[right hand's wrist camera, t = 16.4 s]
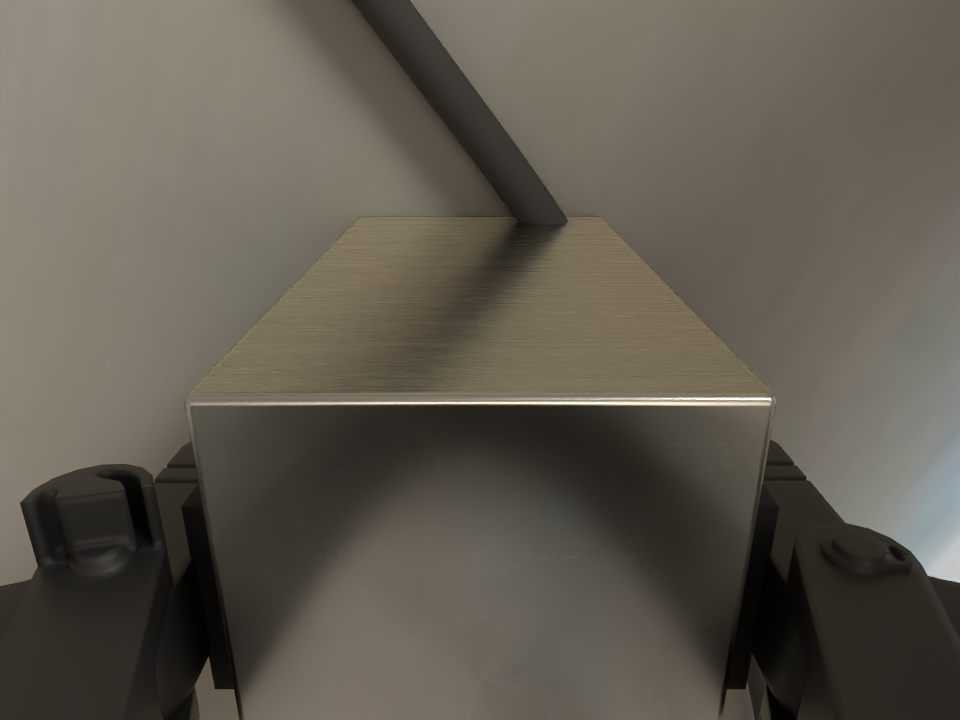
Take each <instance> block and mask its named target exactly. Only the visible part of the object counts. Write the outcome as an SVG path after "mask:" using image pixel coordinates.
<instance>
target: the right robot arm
mask: <svg viewBox="0 0 960 720" xmlns="http://www.w3.org/2000/svg"><path fill="white" fill-rule="evenodd" d="M352 1H353V3H354V4H355V5H356V7H357V8H358V9H359V11H360V12H361V13H362V15H363V16H364V17H365V19H366V20H367V21H368V23H369V24H370V25H371V27H372V28H373V29H374V30H375V32H376V33H377V34H378V36H379V37H380V38H381V40H382V41H383V42H384V44H385V45H386V46H387V48H388V49H389V50H390V52H391V53H392V54H393V56H394V57H395V58H396V59H397V61H398V62H399V63H400V65H401V66H402V67H403V69H404V70H405V71H406V73H407V74H408V75H409V77H410V78H411V79H412V80H413V82H414V83H415V84H416V86H417V87H418V88H419V90H420V91H421V92H422V94H423V95H424V96H425V97H426V99H427V100H428V101H429V103H430V104H431V105H432V107H433V108H434V109H435V111H436V112H437V113H438V114H439V116H440V117H441V118H442V120H443V121H444V122H445V124H446V125H447V126H448V128H449V129H450V130H451V131H452V133H453V134H454V135H455V137H456V138H457V139H458V141H459V142H460V143H461V145H462V146H463V147H464V149H465V150H466V151H467V153H468V154H469V155H470V157H471V158H472V159H473V160H474V162H475V163H476V164H477V166H478V167H479V168H480V170H481V171H482V172H483V174H484V175H485V176H486V178H487V179H488V181H489V182H490V183H491V185H492V186H493V187H494V189H495V190H496V191H497V193H498V194H499V195H500V197H501V198H502V200H503V201H504V202H505V204H506V205H507V206H508V208H509V209H510V211H511V212H512V213H513V215H514V216H515V218H516V219H517V220H518V221H519V222H522V223H526V224H536V225H554V224H563V223H566V222H568V220H567V218H566V217H565V215H564V214H563V212H562V211H561V209H560V208H559V206H558V205H557V203H556V202H555V200H554V199H553V197H552V196H551V194H550V193H549V192H548V190H547V189H546V187H545V186H544V184H543V183H542V181H541V180H540V179H539V177H538V176H537V174H536V173H535V171H534V170H533V169H532V167H531V166H530V164H529V163H528V161H527V160H526V159H525V157H524V156H523V154H522V153H521V152H520V150H519V149H518V148H517V146H516V145H515V143H514V142H513V141H512V139H511V138H510V136H509V135H508V134H507V132H506V131H505V130H504V128H503V127H502V125H501V124H500V123H499V121H498V120H497V119H496V117H495V116H494V115H493V113H492V112H491V110H490V109H489V108H488V106H487V105H486V104H485V102H484V101H483V100H482V98H481V97H480V95H479V94H478V93H477V91H476V90H475V89H474V87H473V86H472V85H471V83H470V82H469V81H468V79H467V78H466V76H465V75H464V74H463V72H462V71H461V70H460V68H459V67H458V66H457V64H456V63H455V62H454V60H453V59H452V57H451V56H450V55H449V53H448V52H447V51H446V49H445V48H444V47H443V45H442V44H441V43H440V41H439V40H438V38H437V37H436V36H435V34H434V33H433V32H432V30H431V29H430V28H429V26H428V25H427V23H426V22H425V21H424V19H423V18H422V17H421V15H420V14H419V12H418V11H417V10H416V8H415V7H414V6H413V4H412V3H411V2H410V0H352ZM20 505H21V508H22V512H23V515H24V519H25V522H26V526H27V529H28V533H29V536H30V540H31V543H32V547H33V550H34V554H35V557H36V561H37V564H38V568H37V570H36V571H35V573H34V575H33V577H32V579H31V580H27V581H23V582H19V583H14V584H9V585H4V586H0V720H199V708H198V701H197V696H196V691H195V683H196V681H197V679H198V677H199V675H200V673H201V671H202V669H203V667H204V665H205V663H206V661H207V659H208V656H209V659H210V664H211V670H212V675H213V681H214V686H215V689H234V685H233V679H232V673H231V668H230V662H229V656H228V650H227V645H226V639H225V633H224V627H223V622H222V616H221V610H220V604H219V599H218V593H217V587H216V581H215V576H214V570H213V564H212V558H211V553H210V547H209V541H208V535H207V530H206V524H205V518H204V512H203V507H202V501H201V495H200V489H199V484H198V478H197V472H196V466H195V460H194V455H193V449H192V443H191V442H189V443H188V444H186V445H184V446H183V447H182V448H181V449H180V450H179V451H178V453H177V454H176V455H175V456H174V457H173V458H172V460H171V461H170V462H169V463H168V464H167V468H164V469H163V470H162V472H161V473H160V474H159V475H158V476H157V478H156V479H155V483H154V482H153V477H152V475H151V474H150V473H149V472H147V471H146V470H145V469H143V468H142V467H137V466H132V465H127V464H111V465H99V466H94V467H89V468H84V469H79V470H75V471H73V472H70V473H67V474H64V475H62V476H59V477H56V478H53V479H51V480H50V481H48V482H46V483H45V484H43V485H41V486H39V487H38V488H36V489H34V490H33V491H32V492H31V493H30V494H29V495H28V496H27V497H26V498H25V499H24V500H23V501H22V502H21V503H20ZM747 682H748V687H749V691H750V696H751V701H752V706H753V712H754V717H755V720H960V583H958V582H953V581H947V580H942V579H938V578H934V577H930V576H927V574H926V572H925V570H924V568H923V566H922V565H921V564H920V562H919V561H918V560H917V559H916V558H915V556H914V555H913V554H912V553H911V551H909V550H908V549H906V548H905V547H903V546H902V545H900V544H899V543H897V542H896V541H895V540H893V539H892V538H889V537H887V536H885V535H882V534H880V533H878V532H875V531H873V530H871V529H868V528H864V527H860V526H856V525H851V524H847V523H845V522H844V521H843V520H842V519H841V517H840V516H839V515H838V514H837V513H836V512H835V510H834V509H833V508H832V507H831V506H830V504H829V503H828V502H827V501H826V500H825V499H824V497H823V496H822V495H821V494H820V493H819V491H818V490H817V489H816V488H815V487H814V486H813V484H812V483H811V482H810V481H806V476H805V475H804V474H803V473H802V471H801V470H800V469H799V468H798V467H797V466H794V462H793V461H792V460H791V458H790V457H789V456H788V455H787V454H786V453H785V451H784V450H783V449H782V448H781V447H780V445H779V444H777V443H775V442H774V441H772V440H770V442H769V448H768V453H767V459H766V465H765V471H764V476H763V482H762V488H761V494H760V500H759V505H758V511H757V517H756V523H755V528H754V534H753V540H752V546H751V552H750V557H749V563H748V569H747V575H746V580H745V586H744V592H743V598H742V604H741V609H740V615H739V621H738V627H737V632H736V638H735V644H734V650H733V656H732V661H731V667H730V673H729V679H728V684H727V689H746V683H747Z"/></svg>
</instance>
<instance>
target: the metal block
mask: <svg viewBox="0 0 960 720" xmlns="http://www.w3.org/2000/svg"><path fill="white" fill-rule="evenodd" d="M566 218H567V220H568V222H566V223H563V224H554V225H536V224H526V223H522V222H519V221H518V220H517V219H516V218H515V217H360V218H358V219H357V220H356V221H355V223H354V224H353V225H352V226H351V227H350V228H349V229H348V230H347V231H346V232H345V233H344V234H343V235H342V236H341V237H340V238H339V239H338V240H337V241H336V242H335V243H334V244H333V245H332V246H331V247H330V248H329V249H328V250H327V251H326V252H325V253H324V254H323V255H322V256H321V257H320V258H319V259H318V261H317V262H316V263H315V264H314V265H313V266H312V267H311V268H310V269H309V270H308V271H307V272H306V273H305V274H304V275H303V276H302V277H301V278H300V279H299V280H298V281H297V282H296V283H295V284H294V285H293V286H292V287H291V288H290V289H289V290H288V291H287V292H286V293H285V294H284V295H283V296H282V297H281V299H280V300H279V301H278V302H277V303H276V304H275V305H274V306H273V307H272V308H271V309H270V310H269V311H268V312H267V313H266V314H265V315H264V316H263V317H262V318H261V319H260V320H259V321H258V322H257V323H256V324H255V325H254V326H253V327H252V328H251V329H250V330H249V331H248V332H247V333H246V334H245V335H244V337H243V338H242V339H241V340H240V341H239V342H238V343H237V344H236V345H235V346H234V347H233V348H232V349H231V350H230V351H229V352H228V353H227V354H226V355H225V356H224V357H223V358H222V359H221V360H220V361H219V362H218V363H217V364H216V365H215V366H214V367H213V368H212V369H211V370H210V371H209V372H208V373H207V375H206V376H205V377H204V378H203V379H202V380H201V381H200V382H199V383H198V384H197V385H196V386H195V387H194V388H193V389H192V390H191V391H190V392H189V393H188V394H187V396H186V399H185V409H186V414H187V420H188V426H189V432H190V437H191V443H192V449H193V455H194V460H195V466H196V472H197V478H198V484H199V489H200V495H201V501H202V507H203V512H204V518H205V524H206V530H207V535H208V541H209V547H210V553H211V558H212V564H213V570H214V576H215V581H216V587H217V593H218V599H219V604H220V610H221V616H222V622H223V627H224V633H225V639H226V645H227V650H228V656H229V662H230V668H231V673H232V679H233V685H234V691H235V696H236V702H237V708H238V714H239V720H721V719H722V713H723V708H724V702H725V696H726V690H727V684H728V679H729V673H730V667H731V661H732V656H733V650H734V644H735V638H736V632H737V627H738V621H739V615H740V609H741V604H742V598H743V592H744V586H745V580H746V575H747V569H748V563H749V557H750V552H751V546H752V540H753V534H754V528H755V523H756V517H757V511H758V505H759V500H760V494H761V488H762V482H763V476H764V471H765V465H766V459H767V453H768V448H769V442H770V436H771V430H772V424H773V419H774V413H775V407H776V400H775V397H774V394H773V393H772V392H771V391H770V390H769V389H768V388H767V387H766V386H765V385H764V384H763V383H762V382H761V381H760V380H759V379H758V378H757V377H756V376H755V375H754V374H753V373H752V372H751V371H750V370H749V368H748V367H747V366H746V365H745V364H744V363H743V362H742V361H741V360H740V359H739V358H738V357H737V356H736V355H735V354H734V353H733V352H732V351H731V350H730V349H729V348H728V347H727V346H726V345H725V344H724V343H723V342H722V341H721V340H720V339H719V338H718V337H717V336H716V335H715V334H714V333H713V332H712V331H711V329H710V328H709V327H708V326H707V325H706V324H705V323H704V322H703V321H702V320H701V319H700V318H699V317H698V316H697V315H696V314H695V313H694V312H693V311H692V310H691V309H690V308H689V307H688V306H687V305H686V304H685V303H684V302H683V301H682V300H681V299H680V298H679V297H678V296H677V295H676V294H675V293H674V292H673V291H672V289H671V288H670V287H669V286H668V285H667V284H666V283H665V282H664V281H663V280H662V279H661V278H660V277H659V276H658V275H657V274H656V273H655V272H654V271H653V270H652V269H651V268H650V267H649V266H648V265H647V264H646V263H645V262H644V261H643V260H642V259H641V258H640V257H639V256H638V255H637V254H636V253H635V252H634V251H633V249H632V248H631V247H630V246H629V245H628V244H627V243H626V242H625V241H624V240H623V239H622V238H621V237H620V236H619V235H618V234H617V233H616V232H615V231H614V230H613V229H612V228H611V227H610V226H609V225H608V224H607V223H606V222H605V221H604V220H603V219H602V218H600V217H566Z"/></svg>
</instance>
